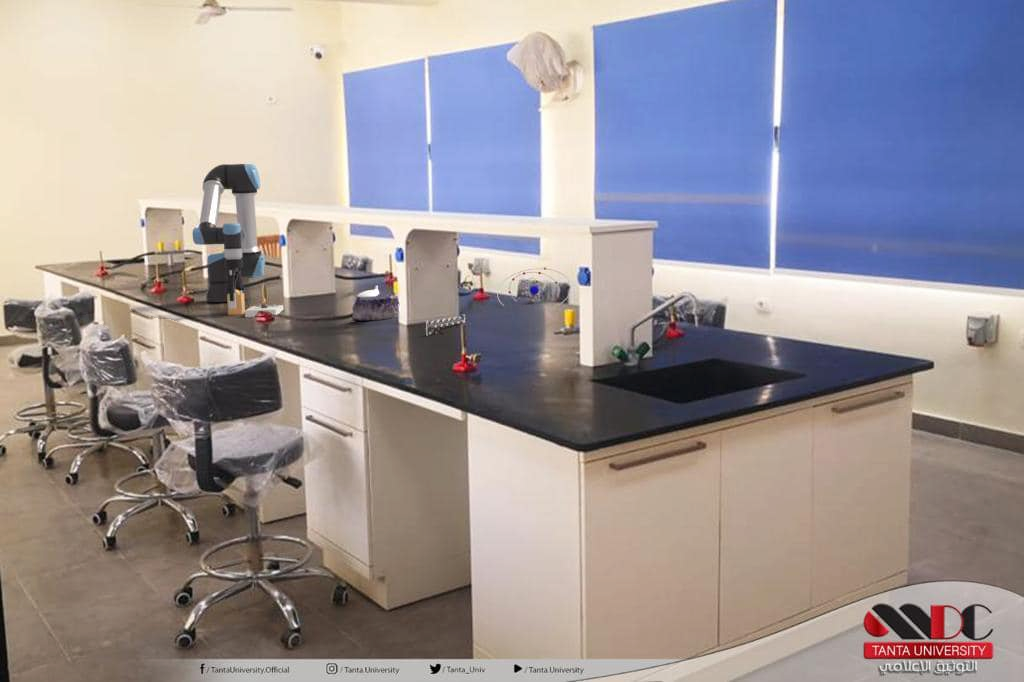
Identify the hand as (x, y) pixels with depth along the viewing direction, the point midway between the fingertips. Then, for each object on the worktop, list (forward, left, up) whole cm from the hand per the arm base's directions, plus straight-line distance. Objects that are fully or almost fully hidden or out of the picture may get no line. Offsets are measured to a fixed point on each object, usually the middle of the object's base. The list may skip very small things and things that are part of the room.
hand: (236, 306), depth 438 cm
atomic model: (+9, +118, -3) cm, 118 cm away
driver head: (-42, +59, -1) cm, 72 cm away
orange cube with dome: (0, 0, -3) cm, 3 cm away
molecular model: (+64, +95, -6) cm, 115 cm away
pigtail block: (+4, +13, -3) cm, 14 cm away
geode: (+33, +64, -4) cm, 72 cm away
